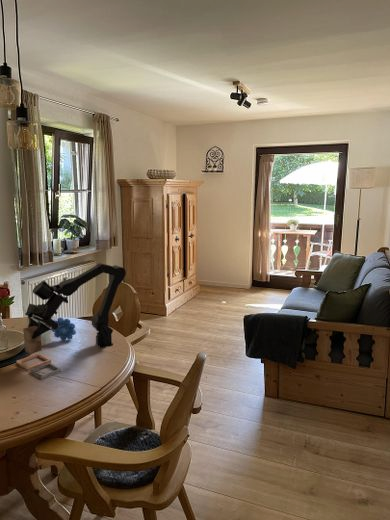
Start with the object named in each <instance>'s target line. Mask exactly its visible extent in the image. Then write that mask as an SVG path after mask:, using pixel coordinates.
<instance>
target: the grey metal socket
mask: <svg viewBox="0 0 390 520" xmlns="http://www.w3.org/2000/svg"><path fill="white" fill-rule="evenodd" d="M49 367H50V368H52V369H54V370H52V371H50V372H46V373H45V374H40V373H38V372H37V371H40V370H43V369H46V368H49ZM29 372H30V373H31V374H32V375H34V376H35V377H37V378H39V379H40V380H43V379H45V378H47V377H50V376H53V375H57V374H59V373H61V372H62V368H60V367H58V365H57V366H56V364H52V362H51V363H48V364H45V365H42V366H39V367H36V368H34V369H31V370H29Z"/></svg>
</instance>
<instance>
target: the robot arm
mask: <svg viewBox="0 0 390 520" xmlns="http://www.w3.org/2000/svg"><path fill="white" fill-rule="evenodd" d="M103 273H104V274H107V275H108V284H107V287H106V291H105V292H104V293H105V294H104V296H103V299H102V303H101V305H100V308H99V310H98V311H97V313H95V312H94V313H93V314H92V319H90V322H91V326H92V327H93V329H95V330H96V336H95V345H97V346H98V348H100V349H101V348H106V347H110V346H114V343H113V339H112V337H113V336H112V335H113V331H114V330H113V328H111V327H110V326H109V324H110V315H109V314H110V312H111V311H110V310H111V308H112V305H113V303H114V299H115V297H116V294H117V290H118V288H119V286H120V285H121V284H122V282H124V279H125V278H126V275H127V271H126V269H125V268H124V267H121V266H119V265H116V264H115V265H113V266H112V265H109V264H105V263H102V262H99V263H97V264H96V265H94V266H93V267H91V268H89V269H87V270H86V271H84V272H82V273H80V274H78V275H77V276H75V277H71V278H68V279H66V280H62V281H60V282H59V283H57V284H55V285H50V284H48V283H47V282H46V281H45V280H43V279H42V281H41V282H39V283H37V284H36V285H35V287H34V288H33V289H32V294H34V295H35V296H36V297H38V298H40V299H41V300H43V301H45V300H46V302H45V303H41V304H39V303H38V304H33V303H29V304H28V307H27V310H26V312H25V313H24V315H25V316H27V319H29V325H27V328H28V327H31V326H37V329H36V331H35V332H34V334H33V336H32V339H35V338H36V337H38V336H40V335H41V334H43V333H45V332H47V331H49V330H50V331H52V330H51V327H52V329H54V330H57V328H58V327H59V326H58V323H57V322H55V321H54V320H55V319H52V318H53V316H54V315H57V314H58V313H59V312H58V310H59V309H60V306H61V305H62V304H63V303H65V304H68V303H69V299H68V297H69V296H72V295H73V294H74V293H75V292H77V291H78V289H79V288H81V286H82V285H84V284H86V283H88V282H90V281H91V280H93V279H94V278H96V277H97V276H99V275H101V274H103ZM39 321H41V322H42V323H41V322H39Z"/></svg>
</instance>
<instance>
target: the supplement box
mask: <svg viewBox="0 0 390 520" xmlns="http://www.w3.org/2000/svg"><path fill="white" fill-rule="evenodd" d="M27 319H28V318H27ZM39 322H41V321H39ZM41 323H42V322H41ZM27 324H28V325H29V319H28V320H27ZM28 325H27V326H28ZM50 341H51V330H49V331H47V332H45V333H43V334H41V344H42V346H44V345H45V344H46V343H48V342H50Z"/></svg>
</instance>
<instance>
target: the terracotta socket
mask: <svg viewBox="0 0 390 520" xmlns="http://www.w3.org/2000/svg"><path fill="white" fill-rule="evenodd" d="M36 358H40V359H42V360H44V361H42V362H39V363H35V364H34V365H31V366H30V365H29V366H28V365H26V364H25V363H24V362H27V361H30V360H32V359H36ZM17 363H18V364H17ZM48 363H51V364H52V359H50V358H48V357H46V356H45V355H43V354H41V353H35V354H33V355H30V356H26V357H24V358H21V359H18V360H16V364H17V365H19V366H20V367H21V368H24V369H25V370H26V371H29V372H30V370H31V369H34V368H36V367H39V366H42V365H45V364H48Z"/></svg>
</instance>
